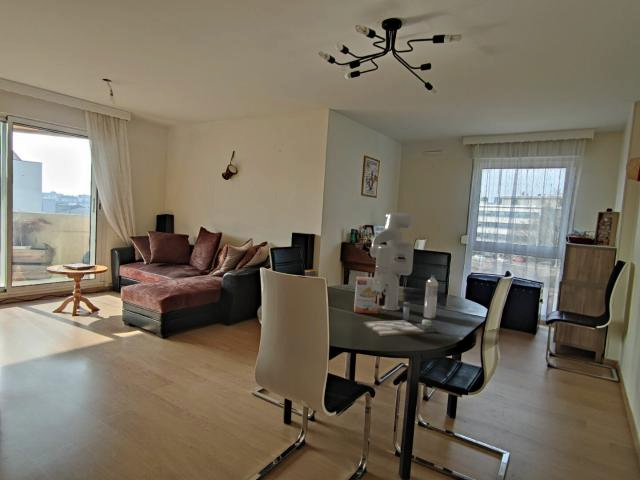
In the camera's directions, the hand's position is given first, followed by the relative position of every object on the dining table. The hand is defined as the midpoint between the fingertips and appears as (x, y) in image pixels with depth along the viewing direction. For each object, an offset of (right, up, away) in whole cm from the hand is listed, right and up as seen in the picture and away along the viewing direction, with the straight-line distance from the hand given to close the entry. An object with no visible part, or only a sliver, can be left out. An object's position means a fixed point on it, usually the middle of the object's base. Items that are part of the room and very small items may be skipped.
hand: (379, 304), depth 195 cm
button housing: (+24, -13, -1) cm, 27 cm away
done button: (+24, -12, -1) cm, 27 cm away
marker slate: (+17, -12, +16) cm, 26 cm away
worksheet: (+7, -12, -1) cm, 14 cm away
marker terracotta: (0, -2, 0) cm, 2 cm away
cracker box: (-4, -10, +28) cm, 30 cm away
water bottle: (+33, -12, +25) cm, 43 cm away
